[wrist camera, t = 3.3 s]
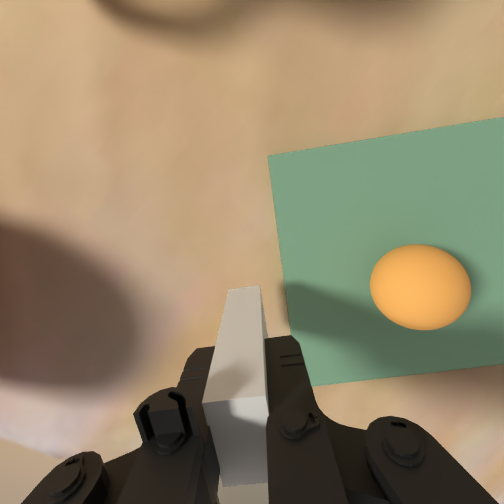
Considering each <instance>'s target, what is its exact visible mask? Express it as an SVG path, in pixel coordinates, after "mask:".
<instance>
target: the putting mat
mask: <svg viewBox="0 0 504 504" xmlns="http://www.w3.org/2000/svg"><path fill="white" fill-rule="evenodd" d="M268 162H269V169H270V177H271V185H272V192H273V200H274V208H275V215H276V223H277V231H278V239H279V246H280V254H281V262H282V269H283V277H284V285H285V292H286V300H287V308H288V315H289V323H290V331H291V335H292V336H293V337H294V338H295V339H296V340H297V341H298V342H299V343H300V347H301V350H302V354H303V357H304V361H305V365H306V368H307V372H308V375H309V379H310V382H311V386H312V387H313V386H321V385H330V384H338V383H347V382H355V381H364V380H372V379H381V378H389V377H398V376H406V375H415V374H423V373H432V372H440V371H449V370H457V369H466V368H474V367H483V366H491V365H500V364H504V117H500V118H494V119H488V120H482V121H476V122H470V123H464V124H458V125H452V126H446V127H440V128H434V129H428V130H421V131H415V132H409V133H403V134H397V135H391V136H385V137H379V138H373V139H367V140H361V141H355V142H349V143H343V144H337V145H331V146H325V147H318V148H312V149H306V150H300V151H294V152H288V153H282V154H276V155H270V156H268ZM411 244H422V245H429V246H433V247H436V248H439V249H441V250H443V251H446V252H448V253H449V254H450V255H452V256H453V257H455V258H456V259H457V260H458V261H459V262H460V263H461V264H462V266H463V267H464V268H465V270H466V272H467V274H468V276H469V279H470V283H471V298H470V302H469V304H468V307H467V308H466V310H465V311H464V313H463V314H462V315H461V316H460V317H459V318H458V319H457V320H456V321H454V322H453V323H451V324H449V325H447V326H445V327H442V328H438V329H434V330H415V329H409V328H406V327H403V326H401V325H398V324H396V323H395V322H393V321H391V320H390V319H388V318H387V317H386V316H385V315H384V314H383V313H382V312H381V311H380V310H379V309H378V307H377V306H376V304H375V303H374V300H373V298H372V295H371V291H370V277H371V273H372V270H373V268H374V266H375V265H376V263H377V262H378V261H379V259H380V258H381V257H382V256H384V255H385V254H386V253H388V252H389V251H391V250H393V249H395V248H398V247H401V246H405V245H411Z"/></svg>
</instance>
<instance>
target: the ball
mask: <svg viewBox="0 0 504 504" xmlns="http://www.w3.org/2000/svg"><path fill="white" fill-rule="evenodd" d="M370 291H371V295H372V298H373V300H374V303H375V304H376V306H377V307H378V309H379V310H380V311H381V312H382V313H383V314H384V315H385V316H386V317H387V318H388V319H390V320H391V321H393V322H395V323H396V324H398V325H401V326H403V327H406V328H409V329H415V330H434V329H438V328H442V327H445V326H447V325H449V324H451V323H453V322H454V321H456V320H457V319H458V318H459V317H460V316H461V315H462V314H463V313H464V311H465V310H466V308H467V307H468V304H469V302H470V298H471V283H470V279H469V276H468V274H467V272H466V270H465V268H464V267H463V266H462V264H461V263H460V262H459V261H458V260H457V259H456V258H455V257H453V256H452V255H450V254H449V253H448V252H446V251H443V250H441V249H439V248H436V247H433V246H429V245H422V244H411V245H405V246H401V247H398V248H395V249H393V250H391V251H389V252H388V253H386V254H385V255H384V256H382V257H381V258H380V259H379V261H378V262H377V263H376V265H375V266H374V268H373V270H372V273H371V277H370Z"/></svg>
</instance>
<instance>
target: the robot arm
mask: <svg viewBox="0 0 504 504" xmlns="http://www.w3.org/2000/svg"><path fill="white" fill-rule="evenodd" d="M133 415H134V418H135V421H136V424H137V427H138V429H139V432H140V435H141V438H142V441H143V443H142V445H141V447H140V448H138V449H136V450H134V451H132V452H130V453H127V454H125V455H123V456H120V457H118V458H116V459H113V460H111V461H109V462H106V463H103V461H102V458H101V456H100V455H99V454H97V453H95V452H94V451H90V452H82V453H79V454H77V455H74V456H72V457H70V458H68V459H67V460H65V461H64V462H62V463H61V464H59V465H57V466H56V467H55V468H54V469H53V470H52V471H51V472H50V473H49V474H48V475H47V476H46V477H45V478H43V480H42V481H41V482H40V483H39V484H38V485H37V486H36V487H35V488H34V490H33V491H32V492H31V493H30V494H29V495H28V496H27V497H26V499H25V500H24V501H23V502H22V503H21V504H220V503H219V499H218V496H217V492H218V484H219V475H220V476H221V480H222V484H223V487H227V486H237V485H247V484H256V483H266V482H268V491H269V504H499V503H498V502H497V501H496V500H495V499H494V498H493V497H492V496H491V495H490V494H489V493H488V492H487V491H486V490H485V489H484V488H483V487H482V486H481V485H480V484H479V483H478V482H477V481H476V480H475V479H474V478H473V477H472V476H471V475H470V474H469V473H468V472H467V471H466V470H465V469H464V468H463V467H462V466H461V465H460V464H459V463H458V462H457V461H456V460H455V459H454V458H453V457H452V456H451V455H450V454H449V453H448V452H447V451H446V450H445V449H444V448H443V447H442V446H441V445H440V444H439V443H438V441H437V440H436V439H435V438H434V437H433V436H432V435H430V434H429V433H428V432H427V431H425V430H424V429H423V428H422V427H420V426H419V425H418V424H415V423H413V422H411V421H409V420H407V419H405V418H399V417H394V416H387V417H380V418H378V419H376V420H375V421H373V422H371V423H370V424H369V426H368V429H367V430H363V429H358V428H353V427H348V426H345V425H341V424H338V423H336V422H334V421H333V420H331V419H329V418H328V417H327V416H326V415H324V414H323V412H322V411H321V410H320V409H319V407H318V405H317V403H316V400H315V397H314V393H313V390H312V386H311V382H310V379H309V375H308V372H307V368H306V365H305V361H304V357H303V354H302V350H301V347H300V343H299V342H298V341H297V340H296V339H295V338H294V337H293V336H292V335H289V336H281V337H274V338H268V334H267V328H266V321H265V315H264V309H263V302H262V296H261V290H260V285H256V286H249V287H242V288H235V289H229V291H228V295H227V299H226V303H225V308H224V312H223V316H222V320H221V324H220V329H219V333H218V337H217V341H216V345H215V346H212V347H204V348H197V349H196V350H195V351H194V352H193V353H192V354H191V355H190V356H189V358H188V359H187V362H186V364H185V367H184V372H182V375H181V377H180V381H179V383H178V385H177V387H171V388H167V389H163V390H160V391H158V392H156V393H154V394H152V395H151V396H149V397H148V398H147V399H146V400H144V401H143V402H142V403H141V404H140V405H139V406H138V408H137V409H136V411H135V412H134V413H133Z"/></svg>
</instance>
